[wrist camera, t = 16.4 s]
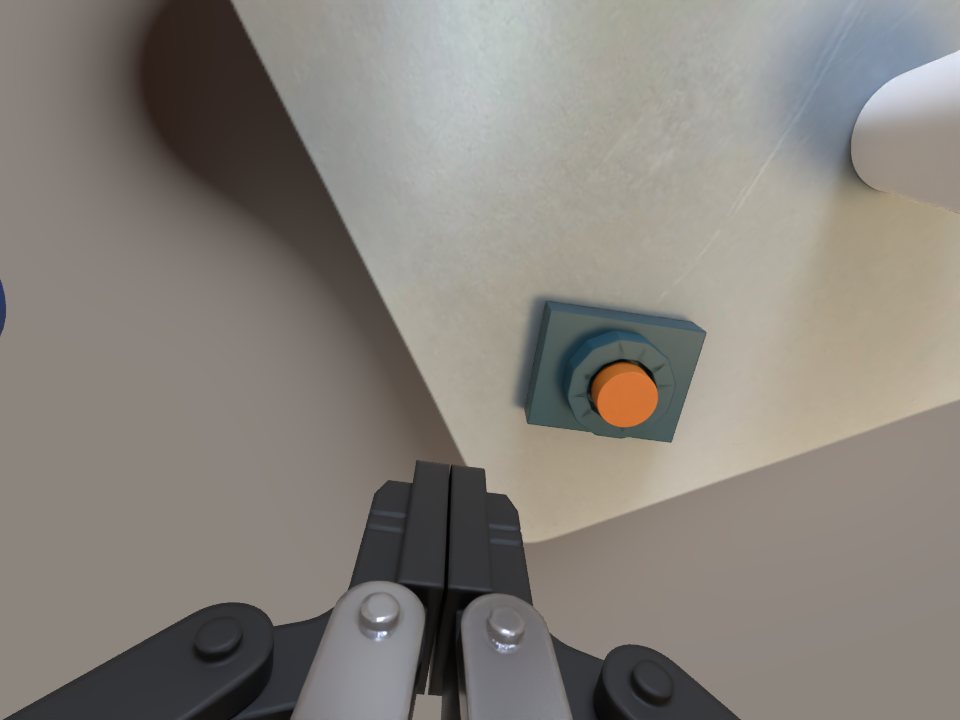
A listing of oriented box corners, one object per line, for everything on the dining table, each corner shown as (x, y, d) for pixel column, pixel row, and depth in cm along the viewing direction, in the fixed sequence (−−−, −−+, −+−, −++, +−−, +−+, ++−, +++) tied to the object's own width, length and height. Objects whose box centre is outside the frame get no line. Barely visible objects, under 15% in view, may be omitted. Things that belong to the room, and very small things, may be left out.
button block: (524, 409, 37) (529, 437, 33) (546, 300, 34) (554, 317, 30) (660, 427, 37) (681, 457, 33) (693, 322, 34) (720, 341, 31)
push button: (585, 410, 33) (591, 423, 31) (598, 357, 31) (605, 368, 30) (640, 417, 33) (649, 431, 31) (655, 365, 32) (665, 376, 30)
